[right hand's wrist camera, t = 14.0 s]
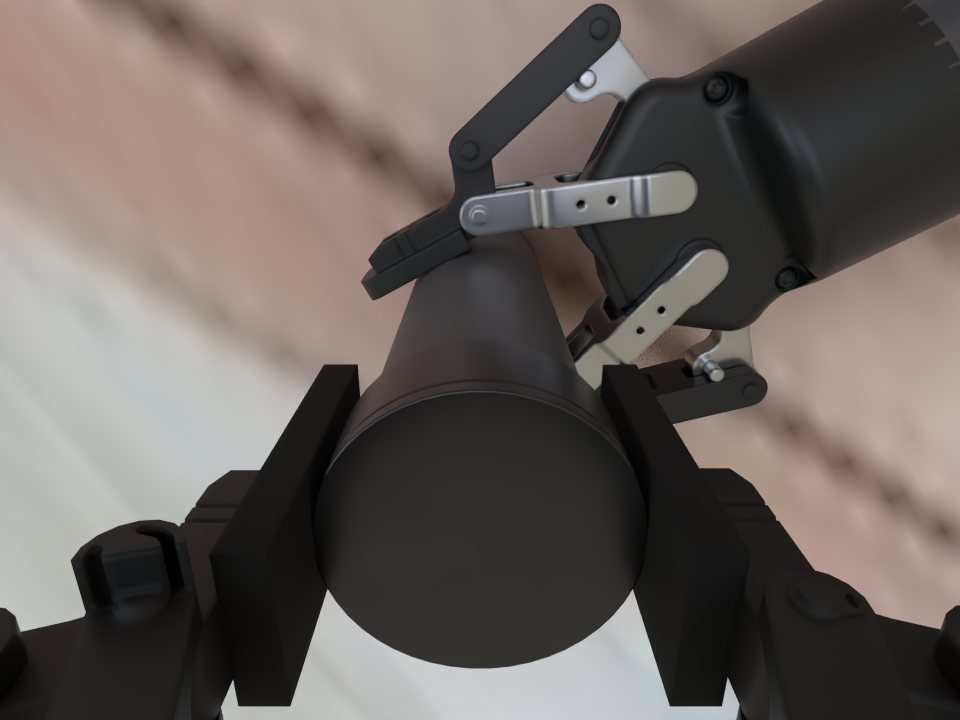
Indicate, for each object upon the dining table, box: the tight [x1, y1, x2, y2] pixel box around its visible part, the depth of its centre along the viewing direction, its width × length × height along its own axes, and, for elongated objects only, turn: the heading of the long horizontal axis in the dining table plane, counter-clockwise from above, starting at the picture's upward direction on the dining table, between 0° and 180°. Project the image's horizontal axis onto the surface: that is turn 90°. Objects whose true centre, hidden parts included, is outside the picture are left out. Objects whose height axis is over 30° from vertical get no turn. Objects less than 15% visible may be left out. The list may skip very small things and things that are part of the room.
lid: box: [312, 340, 649, 668], centre depth 12 cm, size 6×6×2 cm
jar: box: [382, 231, 578, 374], centre depth 19 cm, size 5×5×18 cm
